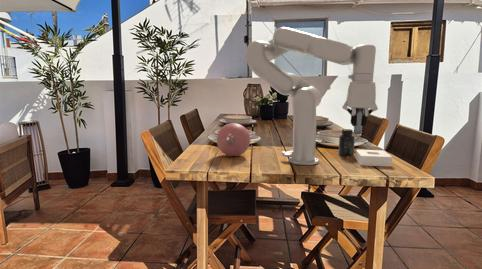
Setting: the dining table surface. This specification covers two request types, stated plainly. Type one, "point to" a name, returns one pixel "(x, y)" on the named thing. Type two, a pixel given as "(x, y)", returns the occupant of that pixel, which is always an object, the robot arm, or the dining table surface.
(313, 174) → the dining table surface
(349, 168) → the dining table surface
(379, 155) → the socket block
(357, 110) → the red topped grey cylinder
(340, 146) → the supplement bottle
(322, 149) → the dining table surface
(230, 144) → the pink rounded piece
